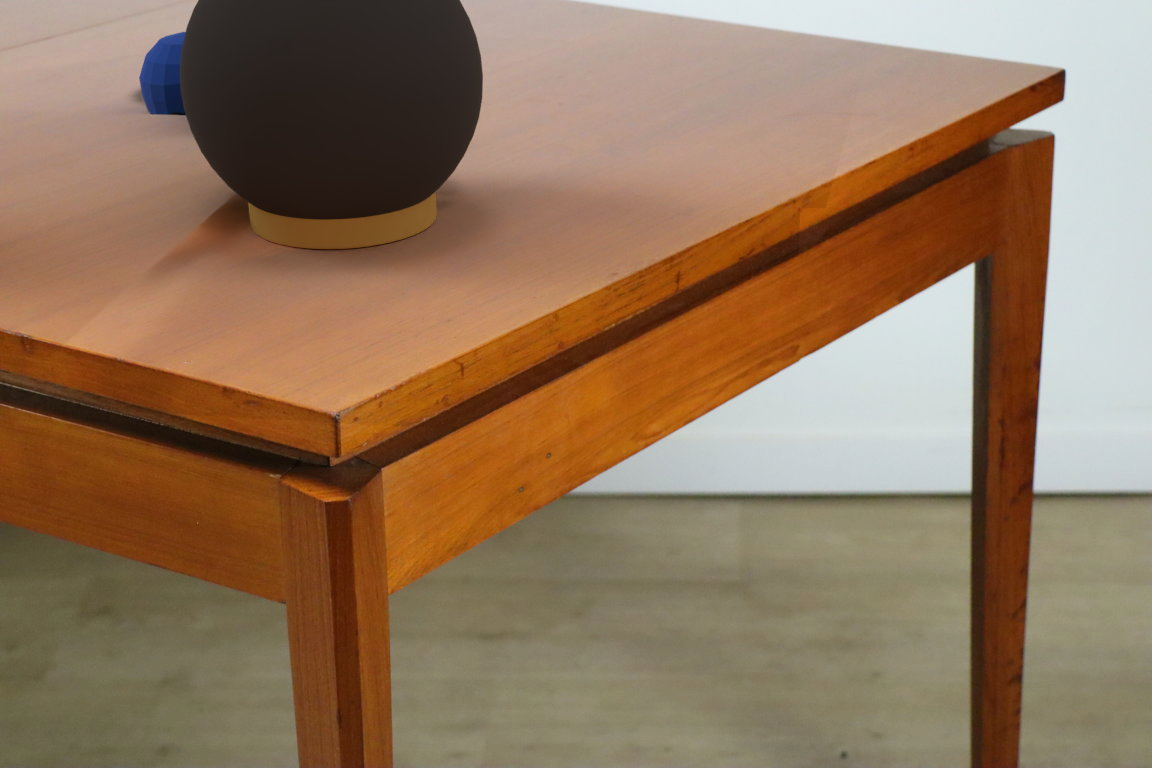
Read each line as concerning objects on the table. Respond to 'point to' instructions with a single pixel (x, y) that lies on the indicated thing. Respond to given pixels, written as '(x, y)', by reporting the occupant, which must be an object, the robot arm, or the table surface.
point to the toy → (163, 76)
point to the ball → (333, 111)
